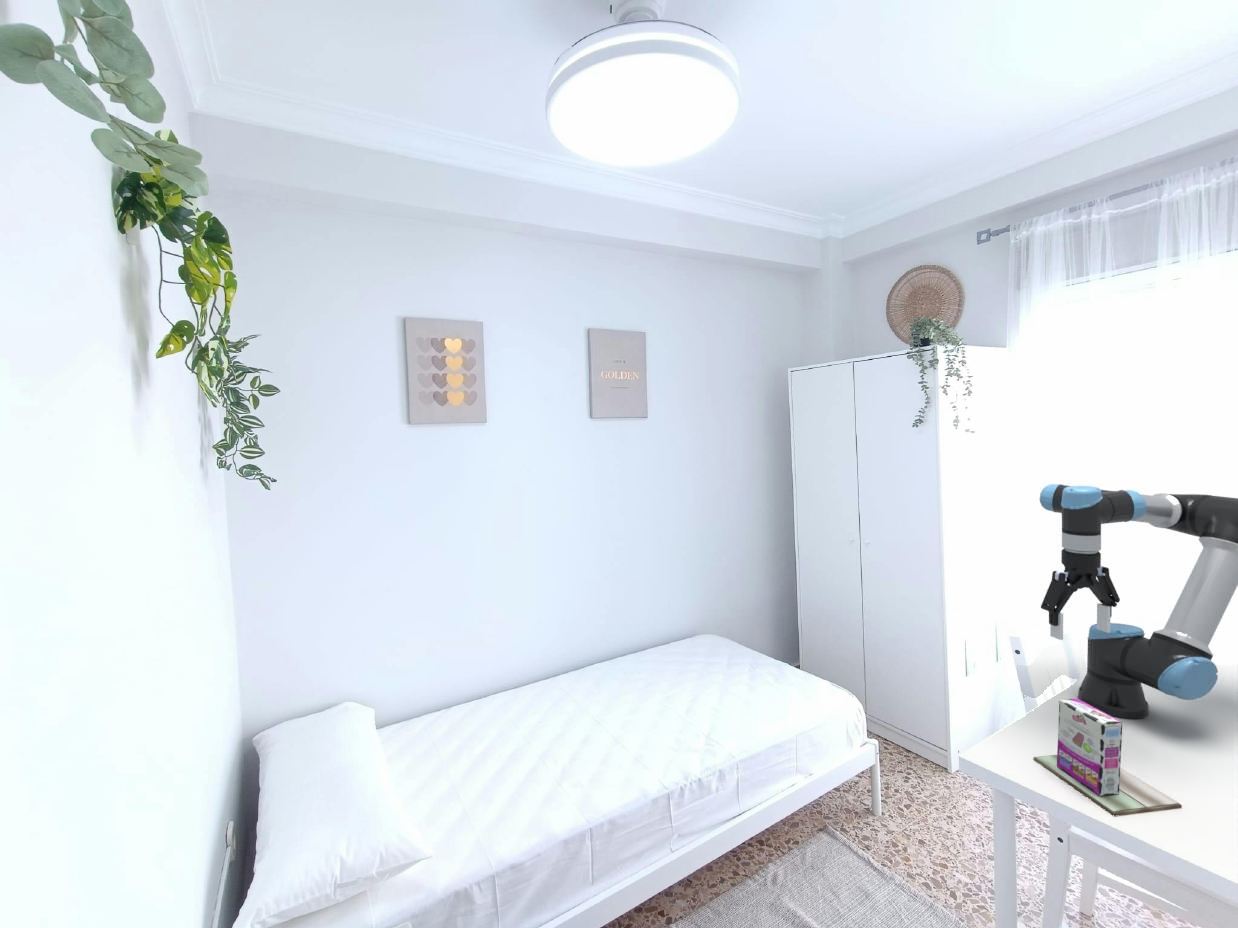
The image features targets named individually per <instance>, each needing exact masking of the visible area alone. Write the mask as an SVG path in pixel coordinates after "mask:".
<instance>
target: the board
mask: <svg viewBox="0 0 1238 928" xmlns="http://www.w3.org/2000/svg"><path fill="white" fill-rule="evenodd" d="M1033 760H1034V762H1037V763H1038V764H1039V765H1040V766H1042V767H1043V768H1044V769H1046V770H1048V771H1049V772H1050V773H1051V774H1054V775H1055V776H1056V777H1058V778H1059V779H1060V780H1062V781H1063V782H1065V783H1066V784H1068V785H1069V786H1070V787H1072V788H1073V789H1074V790H1076V791H1078V792H1079V793H1080V794H1081V795H1083V796H1085V797H1086V798H1087V797H1088V798H1087V799H1089V800H1090V799H1091V800H1090V801H1091V802H1093V801H1094V803H1095V804H1096V803H1097V804H1099V805H1098V806H1099V807H1100V806H1101V807H1100V808H1102V809H1103V810H1104V809H1105V810H1104V811H1106V812H1107V811H1108V812H1107V813H1109V815H1112V816H1113V815H1115V816H1114V817H1117V816H1116V815H1119V816H1124V815H1125V816H1127V815H1134V814H1143V813H1149V812H1158V811H1166V810H1174V809H1175V810H1176V809H1182V808H1183V806H1182V803H1180V802H1178V801H1176V800H1175V799H1174V798H1172V797H1170V796H1168V795H1167V794H1165V793H1164V792H1162V791H1160V790H1159V789H1157V788H1156V787H1153V786H1152V785H1150V784H1149V783H1147V782H1145V781H1144V780H1142V779H1140V778H1139V777H1137V776H1136V775H1133V773H1131V772H1129V771H1128V770H1125V769H1124V768H1122V767H1121V766H1120V784H1119V794H1118V795H1107V796H1099V795H1098V794H1096V793H1095V792H1093V791H1092V790H1090V789H1089V788H1087V787H1086V786H1084V785H1083V784H1081V783H1080V782H1078V781H1077V780H1075V779H1074V778H1073V777H1071V776H1070V775H1068V774H1067V773H1065V772H1064V771H1062V770H1061V769H1059V768H1058V767H1057V754H1052V755H1042V756H1041V755H1040V756H1033ZM1097 804H1096V805H1097Z"/></svg>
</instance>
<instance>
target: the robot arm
mask: <svg viewBox="0 0 1238 928" xmlns="http://www.w3.org/2000/svg"><path fill="white" fill-rule="evenodd" d="M1039 494H1040V495H1039V503H1040V505H1041V507H1042V508H1043V509H1045V510H1046V511H1050V512H1053V513H1058V514H1061V547H1062V549H1061V557H1060V558H1061V559H1060V561H1061V564H1062V565H1063V566H1064V569H1063V571H1057V570H1054V571H1052V573H1051V574H1052V575H1051V581H1050V583H1049V586H1048V588H1047V590H1046V593H1045V596H1044V598H1043V601H1042V603H1041V604H1040V608H1041V610H1045V611H1046V612H1048V624H1049V625H1050V626H1049V627H1050V630H1049V631H1050V637H1052V638H1054V639H1058V640H1060V641H1063V640H1064V613H1062V612H1061V611H1062V610H1064V609H1063V608H1064V607H1065V605H1066V604H1067V603H1068V601H1069V600H1070V599H1071V597H1072V595H1073V594H1074V593H1075V592H1077V591H1078V590H1081V589H1084V588H1086V589H1087V588H1088V589H1089V590H1090V591H1091V592H1092V594H1093V595H1094V596H1095V598H1097V600H1098V601H1099V602H1100V603H1096V623H1094V624H1091V625H1090V627H1089V630H1088V636H1087V661H1086V666H1087V667H1086V674H1085V676H1084V678H1083V680H1082V682H1081V685H1080V686H1079V688H1078V691H1077V694H1078V696H1077V699H1079V700H1081V701H1083V702H1085V703H1087V704H1089V705H1091V706H1093V707H1094V708H1096V709H1098V710H1100V711H1102V712H1104V713H1106V714H1108V715H1110V716H1112V717H1114V718H1121V719H1132V720H1138V719H1143V718H1146V717H1148V716H1149V711H1150V709H1149V707H1150V706H1149V703H1148V701H1147V700H1146V697H1145V692H1144V689H1143V686H1142V684H1144V685H1145V686H1148V687H1150V688H1153V689H1155V690H1158V691H1159V692H1162V693H1163V694H1165V695H1168V696H1172V697H1176V698H1177V699H1180V700H1185V701H1194V700H1197V699H1200V698H1202V697H1204V696H1206V695H1208V693H1210V692H1211V691H1212V689H1213V688H1214V687H1215V685H1216V684H1217V681H1218V676H1219V675H1218V672H1219V671H1218V668H1217V665H1216V664H1215V662H1213V661H1212V659H1213V657H1214V654H1213V652H1212V650H1210V647H1209V645H1210V643H1211V641H1212V639H1213V637H1214V635H1215V633H1216V631H1217V629H1218V627H1219V625H1220V622H1221V621H1222V618H1223V616H1224V614H1225V612H1226V610H1227V608H1228V606H1229V604H1230V602H1231V599H1232V598H1233V596H1234V594H1235V593H1236V589H1237V588H1238V497H1231V496H1230V497H1228V496H1219V495H1210V494H1197V493H1195V494H1193V493H1190V494H1189V493H1188V494H1187V493H1186V494H1181V493H1180V494H1176V493H1164V492H1163V493H1156V494H1153V495H1149V494H1141V493H1139V492H1138V491H1135V490H1131V489H1130V490H1127V489H1126V490H1124V489H1120V490H1107V489H1100V488H1099V487H1098V486H1091V485H1067V484H1065V485H1064V484H1059V483H1058V484H1054V483H1053V484H1052V483H1051V484H1047V485H1046V486H1044V487H1043V488H1042V490H1041V491H1040V493H1039ZM1127 522H1128V523H1129V522H1138V523H1145V524H1146V523H1147V524H1149V525H1151V526H1152V527H1155V528H1160V529H1167V530H1170V531H1174V532H1177V533H1182V534H1185V535H1188V536H1194V537H1196V538H1197V537H1198V541H1199V543H1200V544H1201V546H1202V549H1201V552H1200V553H1199V556H1198V558H1197V559H1196V562H1195V563H1194V565H1193V568H1192V570H1191V573H1190V574H1189V577H1188V578H1187V581H1186V582H1185V584H1184V586H1183V589H1182V590H1181V593H1180V595H1179V596H1178V599H1177V601H1176V603H1175V605H1174V608H1173V609H1172V611H1171V613H1170V615H1169V618H1168V619H1167V621H1166V624H1165V626H1164V627H1163V628H1162V629H1159V630H1158V629H1157V630H1155V631H1153V632H1152V634H1151V635H1150V638H1147V637H1145V635H1146V633H1145V632H1144V631H1145V630H1143V628H1141V627H1139V626H1136V625H1131V624H1127V623H1117V622H1111V618H1112V610H1113V609H1112V608H1116V607H1117V605H1118V603H1120V600H1121V599H1120V596H1119V593H1117V592H1118V591H1117V589H1116V587H1115V585H1114V583H1113V581H1112V578H1111V576H1110V568H1109V567H1106V566H1102V563H1101V562H1102V557H1101V556H1102V553H1101V552H1100V551H1101V550H1102V525H1104V524H1114V523H1127Z"/></svg>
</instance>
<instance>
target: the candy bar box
mask: <svg viewBox="0 0 1238 928" xmlns="http://www.w3.org/2000/svg"><path fill="white" fill-rule="evenodd" d="M1058 702H1059V703H1058V704H1059V705H1058V726H1057V729H1058V730H1057V731H1058V733H1057V752H1056V753H1057V754H1056V755H1057V767H1058V768H1059V769H1061V770H1062V771H1064V772H1065V773H1067V774H1068V775H1070V776H1071V777H1073V778H1074V779H1075V780H1077V781H1078V782H1080V783H1081V784H1083V785H1084V786H1086V787H1087V788H1089V789H1090V790H1092V791H1093V792H1095V793H1096V794H1098V795H1099V796H1107V795H1118V794H1119V784H1120V767H1121V762H1122V761H1121V760H1122V738H1123V723H1124V722H1123V721H1121V720H1119V719H1118V718H1116V717H1115V716H1111V715H1108V714H1106V713H1104V712H1102V711H1100V710H1098V709H1096V708H1094V707H1093V706H1091V705H1089V704H1087V703H1085V702H1083V701H1081V700H1079V699H1078V698H1067V699H1066V698H1065V699H1059V701H1058Z"/></svg>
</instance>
